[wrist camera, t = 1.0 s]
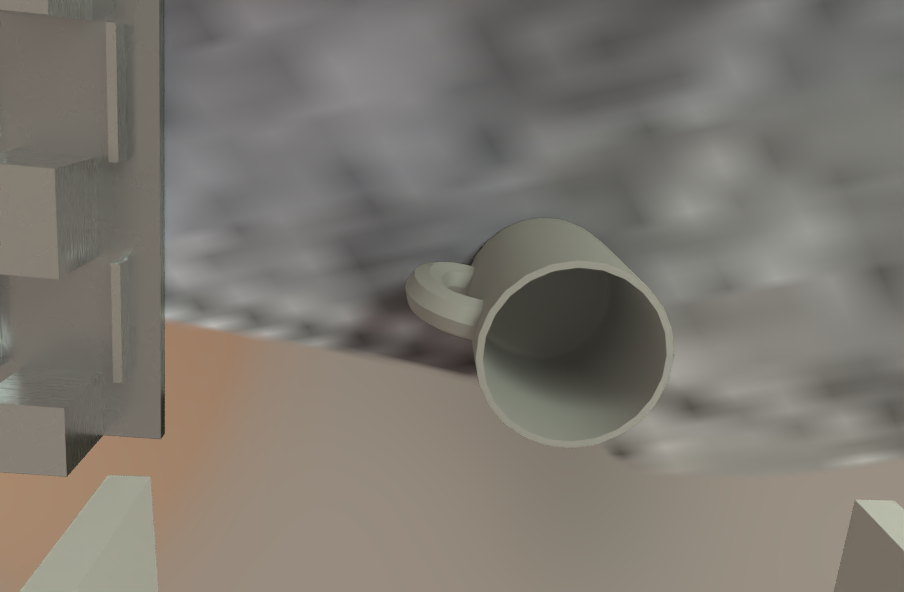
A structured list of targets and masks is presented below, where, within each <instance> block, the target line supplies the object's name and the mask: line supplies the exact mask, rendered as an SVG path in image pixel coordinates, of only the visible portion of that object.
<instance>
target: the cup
mask: <svg viewBox="0 0 904 592" xmlns="http://www.w3.org/2000/svg"><path fill="white" fill-rule="evenodd" d="M405 289H406V295H407V301H408V304H409V306H410V308H411V310H412V312H414V313H415V314H416V315H417V316H418V317H419V318H420V319H422V320H423V321H425V322H426V323H428V324H430V325H432V326H434V327H435V328H437V329H439V330H441V331H443V332H445V333H448V334H451V335H454V336H457V337H460V338H464V339H468V340H471V342H472V348H473V354H474V359H475V365H476V370H477V376H478V382H479V385H480V387H481V390H482V392H483V394H484V396H485V398H486V401H487V403H488V405H489V406H490V407H491V409H492V410H493V411H494V412H495V414H496V415H497V416H498V417H499V418H500V420H501V421H502V422H503V423H504V424H505V425H507V426H508V427H510V428H511V429H512V430H514V431H516V432H517V433H518V434H520V435H521V436H523V437H525V438H527V439H530V440H533V441H536V442H538V443H541V444H544V445H547V446H557V447H568V448H575V447H582V446H589V445H596V444H599V443H601V442H604V441H606V440H609V439H611V438H614V437H616V436H619V435H621V434H622V433H624V432H625V431H627V430H628V429H630V428H631V427H632V426H634V425H635V424H637V423H638V422H640V421H641V420H642V419H643V418H644V416H645V415H646V414H647V413H648V412H649V411H650V410H651V408H652V407H653V406H654V405H655V404H656V403H657V402H658V400H659V398H660V396H661V394H662V392H663V390H664V388H665V386H666V384H667V382H668V380H669V376H670V371H671V367H672V362H673V357H674V350H673V334H672V329H671V326H670V323H669V321H668V318H667V315H666V312H665V310H664V308H663V306H662V305H661V303H660V302H659V301H658V299H657V298H656V297H655V295H654V294H653V293H652V291H651V290H650V288H649V287H648V286H647V285H646V284H644V283H643V282H642V281H641V280H640V279H639V278H638V277H637V276H636V275H635V274H634V273H633V272H632V271H631V270H630V269H629V268H628V267H627V266H626V265H625V264H624V263H623V262H622V261H621V260H620V259H619V258H618V257H617V256H616V255H615V254H614V253H612V252H611V251H610V250H609V249H608V248H607V247H606V246H605V245H604V244H603V243H602V242H601V241H600V240H598V239H597V238H596V237H595V236H593V235H592V234H591V233H589V232H588V231H587V230H585V229H584V228H582V227H580V226H577V225H575V224H572V223H570V222H567V221H565V220H561V219H552V218H536V219H529V220H522V221H520V222H518V223H515V224H513V225H511V226H508V227H506V228H504V229H502V230H501V231H500V232H498V233H497V234H496V235H494V236H493V237H492V238H490V239H489V240H488V241H487V242H486V243H485V245H484V246H483V247H482V248H481V250H480V251H479V252H478V254H477V255H476V256H475V258H474V260H473V263H472V265H471V266H469V265H465V264H459V263H453V262H434V263H426V264H423V265H419V266H418V267H417V268H416V269H415V270H414V272H413V273H412V274H411V276H410V277H409V278H408V280H407V281H406V287H405Z"/></svg>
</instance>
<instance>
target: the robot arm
mask: <svg viewBox="0 0 904 592" xmlns="http://www.w3.org/2000/svg"><path fill="white" fill-rule="evenodd" d="M153 519H154V518H153V505H152V490H151V477H148V476H117V475H115V476H114V475H108V476H107V477H106V478H105V480H104V481H103V482H102V484H101V485H100V487H99V488H98V489H97V490H96V492H95V493H94V494H93V495H92V497H91V498H90V499H89V501H88V502H87V503H86V505H85V506H84V507H83V509H82V510H81V511H80V513H79V514H78V515H77V516H76V518H75V519H74V520H73V522H72V523H71V524H70V526H69V527H68V528H67V530H66V531H65V532H64V534H63V535H62V536H61V538H60V539H59V540H58V541H57V543H56V544H55V545H54V547H53V548H52V549H51V551H50V552H49V553H48V555H47V556H46V557H45V558H44V560H43V561H42V562H41V564H40V565H39V566H38V568H37V569H36V570H35V572H34V573H33V574H32V576H31V577H30V578H29V580H28V581H27V582H26V584H25V585H24V586H23V587H22V589H21V590H20V591H19V592H158V578H157V563H156V548H155V534H154V520H153ZM834 592H904V509H902V508H901V507H900V506H899V505H898V504H897V503H896V502H895V501H883V500H855V502H854V506H853V511H852V515H851V519H850V524H849V528H848V532H847V537H846V541H845V545H844V549H843V554H842V558H841V562H840V567H839V571H838V575H837V580H836V584H835V588H834Z"/></svg>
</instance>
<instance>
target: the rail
mask: <svg viewBox="0 0 904 592" xmlns="http://www.w3.org/2000/svg"><path fill="white" fill-rule="evenodd" d="M164 354H165V353H164V0H0V472H4V473H19V474H34V475H48V476H63V477H67V476H68V475H69V474H70V473H71V471H72V470H73V469H74V468H75V467H76V466H77V465H78V463H79V462H80V461H81V460H82V459H83V458H84V457H85V455H86V454H87V453H88V452H89V451H90V450H91V449H92V447H93V446H94V445H95V444H96V443H97V441H99V439H100V438H101V437H102V436H103V435H109V436H123V437H137V438H151V439H161V438H162V437H163V435H164V434H165V410H164V409H165V386H164V385H165V377H164V376H165V375H164V374H165V366H164V365H165V363H164V362H165V361H164V358H165V357H164Z"/></svg>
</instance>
